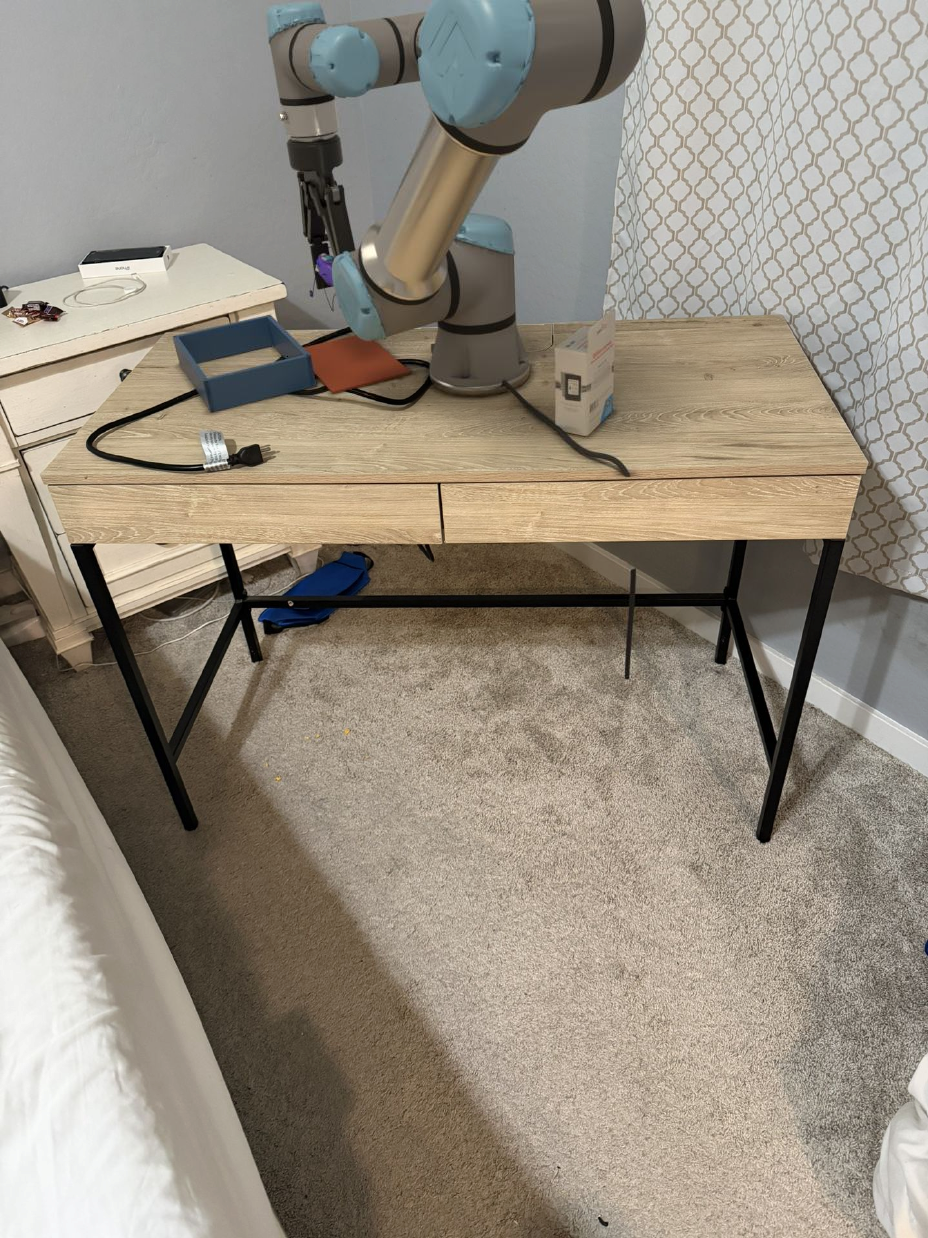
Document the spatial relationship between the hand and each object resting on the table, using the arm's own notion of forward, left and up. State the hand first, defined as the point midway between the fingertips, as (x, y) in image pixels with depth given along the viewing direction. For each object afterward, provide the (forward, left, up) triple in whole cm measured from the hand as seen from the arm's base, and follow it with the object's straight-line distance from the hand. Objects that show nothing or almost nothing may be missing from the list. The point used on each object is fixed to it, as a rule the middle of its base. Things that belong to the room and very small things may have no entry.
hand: (336, 296), depth 142 cm
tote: (+5, +15, -11) cm, 20 cm away
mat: (0, -1, -11) cm, 11 cm away
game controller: (-1, 0, -1) cm, 1 cm away
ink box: (-39, -21, -11) cm, 45 cm away
